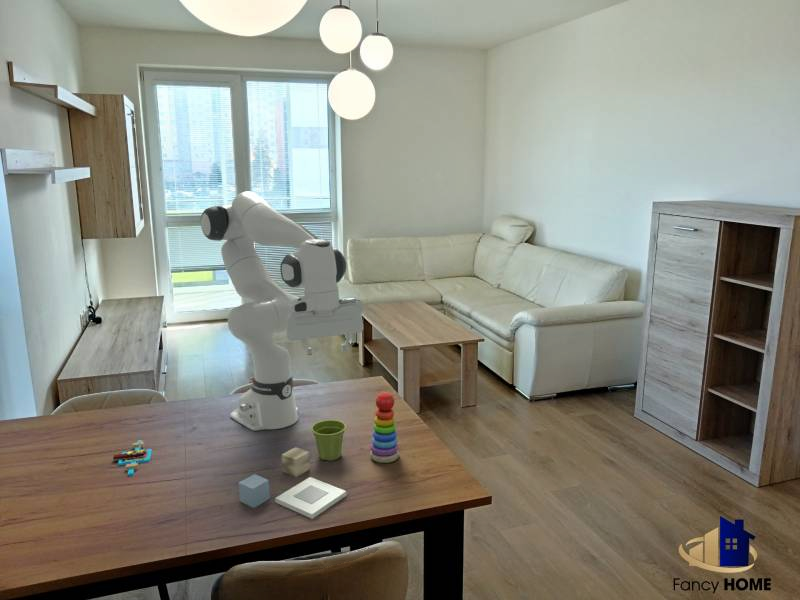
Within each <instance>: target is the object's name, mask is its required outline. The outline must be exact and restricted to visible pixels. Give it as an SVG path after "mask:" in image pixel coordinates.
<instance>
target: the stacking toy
mask: <svg viewBox="0 0 800 600" xmlns="http://www.w3.org/2000/svg"><path fill="white" fill-rule="evenodd" d="M375 405H376V408H377V410H376V411H375V418H374V423H375V424H374V425H373V433H372V436H373V437H372V440H371V445H370V453H369V457H370V458H371V460H373V461H374V462H376V463H381V464H388V463H389V464H390V463H392V462H394V461H396V460H398V458H399V456H400V452H399V450H398V449H399V446H398V437H397V431H396V429H397V426H396V423H395V422H396V419H395V417H394V416H395V411H394V409H393V408H394V405H395V397H394V396H393V395H392V394H391V393H389V392H387V391H385V392H380V393H378V395H377V396H376V398H375Z"/></svg>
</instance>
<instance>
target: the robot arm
mask: <svg viewBox="0 0 800 600" xmlns="http://www.w3.org/2000/svg"><path fill="white" fill-rule="evenodd" d="M200 227H201V231H202V233H203V235H204V236H205V237H206V238H207V239H208V240H210V241H217V242H218V241H219V242H220V241H225V242H224V243H223V244H222V245H221V249H220V250H221V257H222V262H223V264H224V267H225V269H226V272H227V275H228V276H229V279H230V281H231V283H232V285H233V288H234V289H235V291H236V293H237V295H238V296H240V297H241V298H242V299H244V300H246V301H249V302H245V303H243V304H240V305H238V306H236V307H234V308H232V309H231V310H230V312H229V314H228V317H227V326H228V330H229V332H230V334H231V335H232V336H233V337H234V338H236V339H237V340H239V341H241V342H242V343H243V344H245V345H246V347H247V348H248V350H249V352H250V354H251V357H252V362H253V371H254V377H252V378H250V379H248V380H249V382H248V383H250V384H251V383H252V384H251V388H250V389H249V390H247V391H246V392H244V394H241V396H240V397H239V398H238V401H237V408H236V409H234V410H233V411H232V412H230V415H229V416H230V418H231V419H233V420H235V421H236V422H237V423H239V424H241V425H242V426H244V427H245V428H247V429H249V430H251V431H253V432H254V431H261V430H278V429H283V428H286V427H287V428H288V427H290V426H292V425H294V424H296V423H297V422H298V421H299V414H298V413H299V408H298V407H297V403H296V398H295V392H294V379H293V375H292V369H291V368H292V367H291V354H290V353H289V351H288V349H287V348H285V347H284V346H282V345H279V344H276V343H275V342H274V336H275V335H279V334H285V333H286V338H287V340H289V341H300V343H301V345H302V346H303V348H304V349H305V352H306V356H307V357H308V356H313V349H312V348H313V347H309V346H308V345H307V343H308V342H307V340H308V339H315V338H327V337H333V336H334V337H335V336H344V338H345V340H344V343H341V351H342V352H348V351H349V348H348V347H349V346H348V344H349V343H350V341H351V338H352V334H360V333H362V332H363V330H364V322H363V318H362V317H363V316H362V313H363V311H364V309H363V308H364V307H363V303H362V301H361V300H360V299H358V298H355V297H353V298H352V297H351V298H342V299H340V291H339V286H338V283H339V282H340V281H341V280H342V279H343V278H344V276H345V273H346V271H347V260H346V258H345V257H344V255H343V253H342V252H341V251H340V250H339V249H338V248H336V247H334V246H333V245H332V242H331V241H329V240H327V239H323V238H321V239H320V238H319V237H318V236H316V235H315V234H314V233H312V232H311V231H310V230H309V229H308V228H306V227H305V226H303V224H300V223H298V222H296V221H295V220H293V219H290V218H289V217H287V216H285V215H284V214H282V213H281V212H279V211H277V210H276V209H275V208H274V207H273V206H272V205H271V204H270V203H269V202H268V201H267V200H266V199H265V198H263V197H262V196H261V195H259V194H257V193H255V192H253V191H248V190H247V191H243V192H240V193H238V194H237V195H236V196H235V197H234V199H233V200H232V203H230V204H229V203H228V204H223V205H215V206H214V205H213V206H209V207H207V208H206V209H204V210H203V212H202V214H201V215H200ZM255 243H256V244H258V245H262V246H269V247H270V246H273V247H276V246H277V247H278V246H279V247H289V248H293V249H297V250H295V251H293V252H291V253H288V254H286V255H284V257H283V258H282V261H281V262H280V269H279V270H280V275H281V280H282V281H283V282H284V283H285V284H286V285H287V286H288V287H290V288H293V289H294V288H296V289H300V288H304V296H301V297H300V296H297V295H294V294H291V293H290V292H289V291H286V290H285V289H283V288H282V287H281V286H280V285H279V284H277V283H276V282H275V281H274V280H273V278H272V277H271V276H270V274H269V272H268V270H267V269H266V267H265V265H264V263H263V261H262V260H261V257H260V255H259V254H258V252H257V251H256V249H255Z"/></svg>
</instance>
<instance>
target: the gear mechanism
mask: <svg viewBox="0 0 800 600" xmlns="http://www.w3.org/2000/svg"><path fill="white" fill-rule="evenodd" d="M152 453H153V451H152V449H151V448H149V449H148V448H147V449H146V448H145V442H144V441H143V440H142V439H141V440H137V441H136V442H133V443H132V450H129V451H124V452H121V454H120V453H119V454H114V455H113V457H112V458H113V459H112V460H118V463H117V464H118V465H119V466H125V472H127V476H131V477H132V476H133V475H134V473H135V471H137V470H139V464H140V463H141V464H142V463H148V462H150V461H151V457H152ZM144 456H145V457H144ZM124 459H125V460H124Z"/></svg>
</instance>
